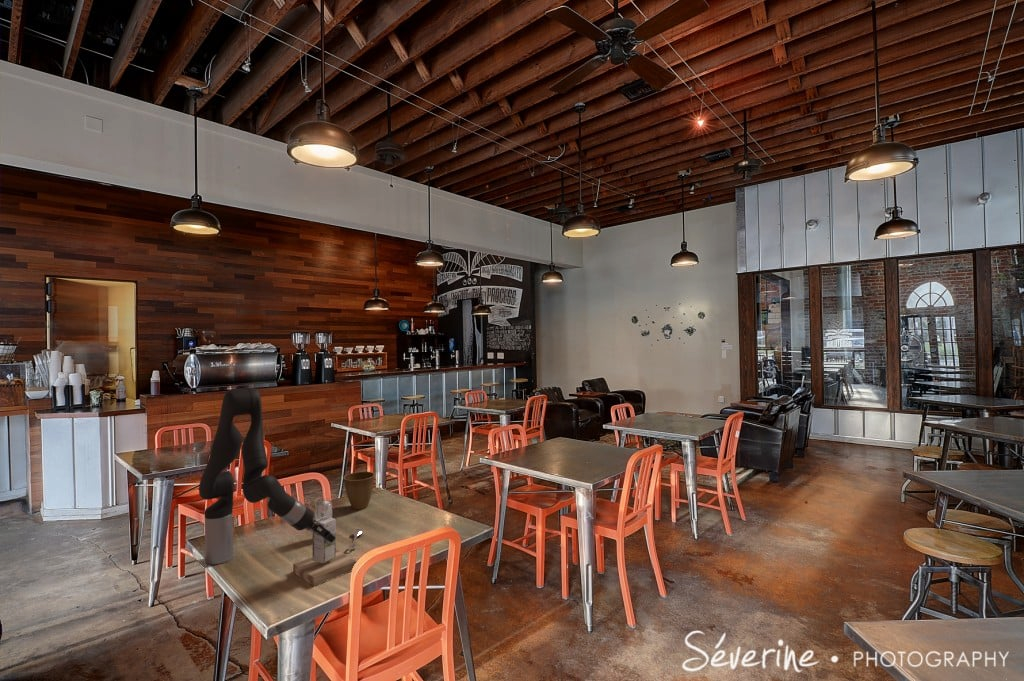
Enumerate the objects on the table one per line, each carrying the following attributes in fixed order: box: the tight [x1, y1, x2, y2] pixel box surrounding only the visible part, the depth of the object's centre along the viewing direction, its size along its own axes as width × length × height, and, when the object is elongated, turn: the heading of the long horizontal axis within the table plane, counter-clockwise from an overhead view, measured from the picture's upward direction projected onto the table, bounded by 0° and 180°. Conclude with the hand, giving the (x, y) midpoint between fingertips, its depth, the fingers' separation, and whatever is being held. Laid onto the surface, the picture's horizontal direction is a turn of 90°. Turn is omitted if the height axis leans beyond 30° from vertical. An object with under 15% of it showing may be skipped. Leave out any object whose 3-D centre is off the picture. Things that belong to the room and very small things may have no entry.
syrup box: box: [312, 516, 337, 563], centre depth 175 cm, size 6×6×14 cm
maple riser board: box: [292, 549, 358, 587], centre depth 176 cm, size 16×16×3 cm
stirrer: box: [346, 528, 364, 550], centre depth 200 cm, size 20×4×5 cm
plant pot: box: [343, 471, 375, 511], centre depth 242 cm, size 15×15×16 cm
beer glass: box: [314, 499, 333, 520], centre depth 205 cm, size 7×7×15 cm
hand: (328, 537), depth 177 cm, fingers closed on syrup box, 6 cm apart
